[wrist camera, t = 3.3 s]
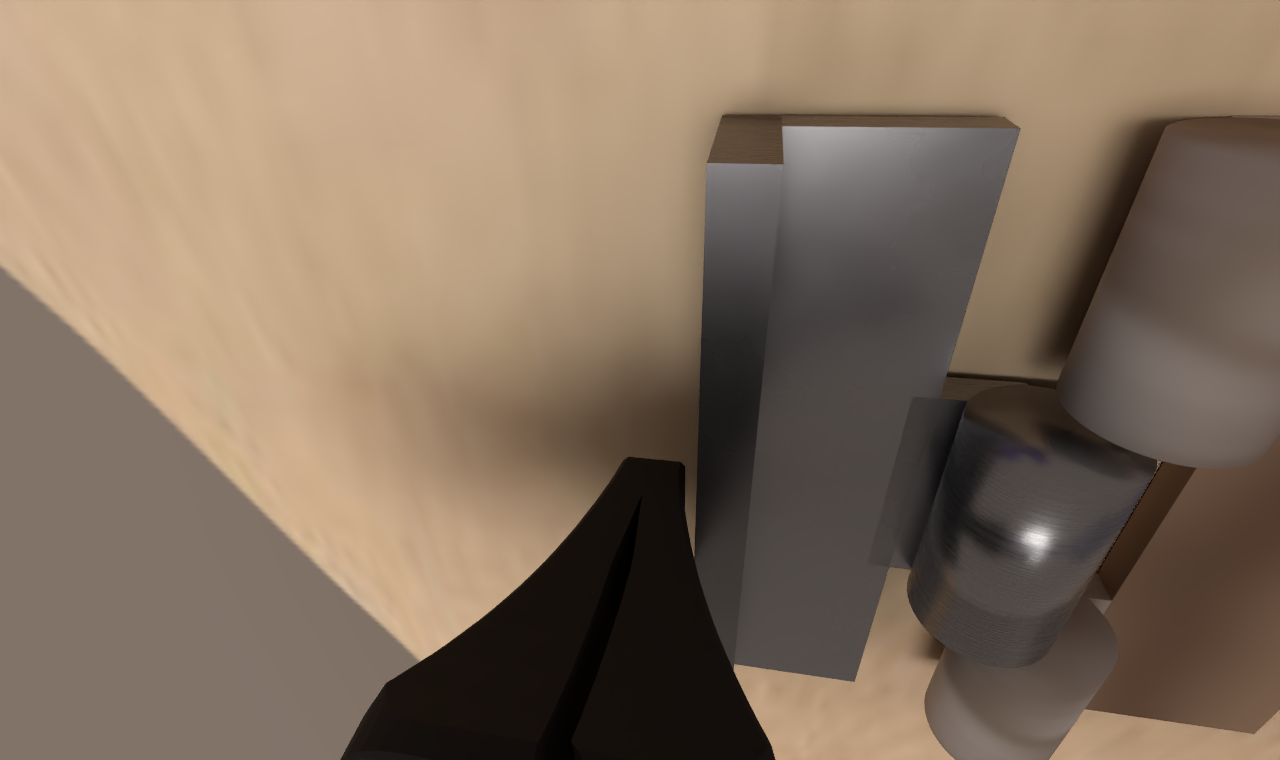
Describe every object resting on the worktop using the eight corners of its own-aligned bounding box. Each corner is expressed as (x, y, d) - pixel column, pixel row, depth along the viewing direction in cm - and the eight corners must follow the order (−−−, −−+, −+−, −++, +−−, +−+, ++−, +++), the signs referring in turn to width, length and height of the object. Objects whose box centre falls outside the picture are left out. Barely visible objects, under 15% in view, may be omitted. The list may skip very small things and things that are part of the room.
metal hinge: (1239, 118, 9) (1408, 178, 7) (970, 672, 18) (1003, 790, 15) (721, 114, 11) (706, 165, 8) (700, 634, 19) (688, 737, 17)
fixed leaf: (1796, 119, 8) (2223, 190, 6) (1236, 703, 17) (1316, 834, 14) (1123, 115, 10) (1243, 170, 7) (914, 658, 18) (936, 771, 16)
